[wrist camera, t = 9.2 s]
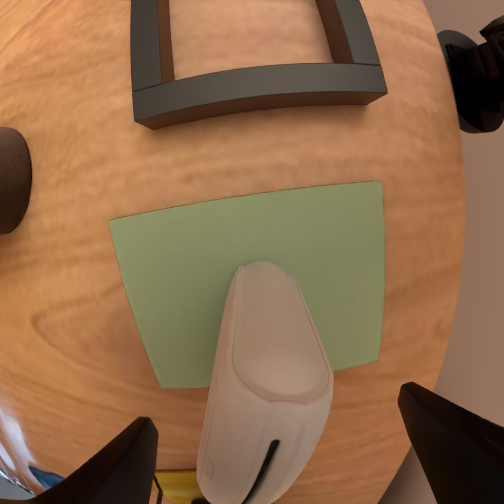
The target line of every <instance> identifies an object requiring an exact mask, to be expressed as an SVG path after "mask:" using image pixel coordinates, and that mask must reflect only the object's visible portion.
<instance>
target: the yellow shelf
mask: <svg viewBox="0 0 504 504" xmlns="http://www.w3.org/2000/svg"><path fill="white" fill-rule="evenodd" d="M152 487H153V488H154V489H155V490H156V491H157V492H158V497H157V503H156V504H161V502H162V496H164V497H166V498H167V499H169V500H170V501H172V502H173V503H175V504H211V503H210V502H209V501H208V500H207V499H206V498H205V497H204V495H203V493H202V492H201V490H200V487H199V484H198V481H197V469H195V470H177V471H155V474H154V479H153V484H152Z"/></svg>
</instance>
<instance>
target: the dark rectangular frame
mask: <svg viewBox="0 0 504 504" xmlns="http://www.w3.org/2000/svg"><path fill="white" fill-rule="evenodd" d="M316 2H317V5H318V8H319V12H320V15H321V18H322V21H323V25H324V28H325V31H326V35H327V38H328V42H329V46H330V50H331V54H332V58H333V62H334V63H300V64H281V65H268V66H257V67H249V68H241V69H233V70H227V71H221V72H215V73H209V74H204V75H199V76H194V77H189V78H185V79H181V80H176V81H175V80H174V69H173V58H172V46H171V32H170V16H169V0H131V24H130V49H131V79H132V92H133V93H132V98H133V111H134V121H135V122H137V123H139V124H141V125H143V126H146V127H148V128H150V129H152V130H156V129H159V128H163V127H168V126H172V125H176V124H181V123H185V122H190V121H195V120H200V119H205V118H210V117H216V116H222V115H228V114H234V113H241V112H248V111H256V110H265V109H274V108H285V107H298V106H315V105H367V104H369V103H371V102H373V101H375V100H376V99H378V98H380V97H382V96H384V95H386V94H387V93H388V92H387V88H386V83H385V79H384V75H383V71H382V67H381V64H380V60H379V57H378V53H377V50H376V46H375V43H374V40H373V37H372V34H371V31H370V28H369V25H368V22H367V19H366V16H365V14H364V11H363V8H362V6H361V3H360V1H359V0H316Z"/></svg>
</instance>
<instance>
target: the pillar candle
mask: <svg viewBox="0 0 504 504" xmlns="http://www.w3.org/2000/svg"><path fill="white" fill-rule="evenodd" d="M30 184H31V166H30V157H29V153H28V150H27V145H26V143H25V140H24V138H23V137H22V135H21V134H20V133H19V132H18V131H16V130H15V129H12V128H8V127H0V235H3V234H8V233H10V232H11V231H13V230H14V229H15V228H16V227H17V226H18V224H19V223H20V221H21V219H22V217H23V214H24V213H25V210H26V207H27V205H28V199H29V194H30Z"/></svg>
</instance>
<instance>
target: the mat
mask: <svg viewBox="0 0 504 504" xmlns="http://www.w3.org/2000/svg"><path fill="white" fill-rule="evenodd" d="M109 226H110V231H111V235H112V240H113V244H114V249H115V253H116V257H117V261H118V265H119V268H120V272H121V276H122V280H123V283H124V287H125V290H126V293H127V297H128V300H129V303H130V306H131V310H132V313H133V316H134V319H135V322H136V325H137V328H138V331H139V333H140V336H141V339H142V342H143V344H144V347H145V350H146V352H147V355H148V358H149V360H150V363H151V365H152V368H153V370H154V373H155V375H156V377H157V380H158V382H159V384H160V387H161V388H205V387H210V383H211V377H212V372H213V366H214V360H215V354H216V349H217V343H218V337H219V332H220V327H221V322H222V317H223V313H224V308H225V304H226V298H227V296H228V292H229V288H230V284H231V281H232V279H233V277H234V274H235V272H236V270H237V268H238V267H239V265H241V266H245V265H247V264H249V263H251V262H255V261H269V262H272V263H275V264H277V265H279V266H280V267H282V268H283V269H284V270H285V271H286V272H287V274H288V275H293V276H294V277H295V279H296V280H297V283H298V285H299V287H300V289H301V292H302V294H303V297H304V299H305V302H306V304H307V306H308V309H309V311H310V313H311V316H312V318H313V321H314V324H315V326H316V329H317V331H318V334H319V336H320V339H321V342H322V344H323V347H324V349H325V352H326V354H327V357H328V360H329V362H330V365H331V368H332V371H337V370H342V369H347V368H351V367H355V366H360V365H364V364H368V363H372V362H376V361H379V354H380V345H381V335H382V323H383V309H384V290H385V226H384V206H383V192H382V182H381V181H368V182H355V183H344V184H333V185H323V186H313V187H304V188H295V189H287V190H279V191H271V192H264V193H256V194H249V195H242V196H236V197H229V198H223V199H216V200H210V201H204V202H198V203H192V204H187V205H181V206H176V207H170V208H165V209H160V210H155V211H150V212H145V213H140V214H135V215H130V216H125V217H121V218H116V219H112V220H109Z"/></svg>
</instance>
